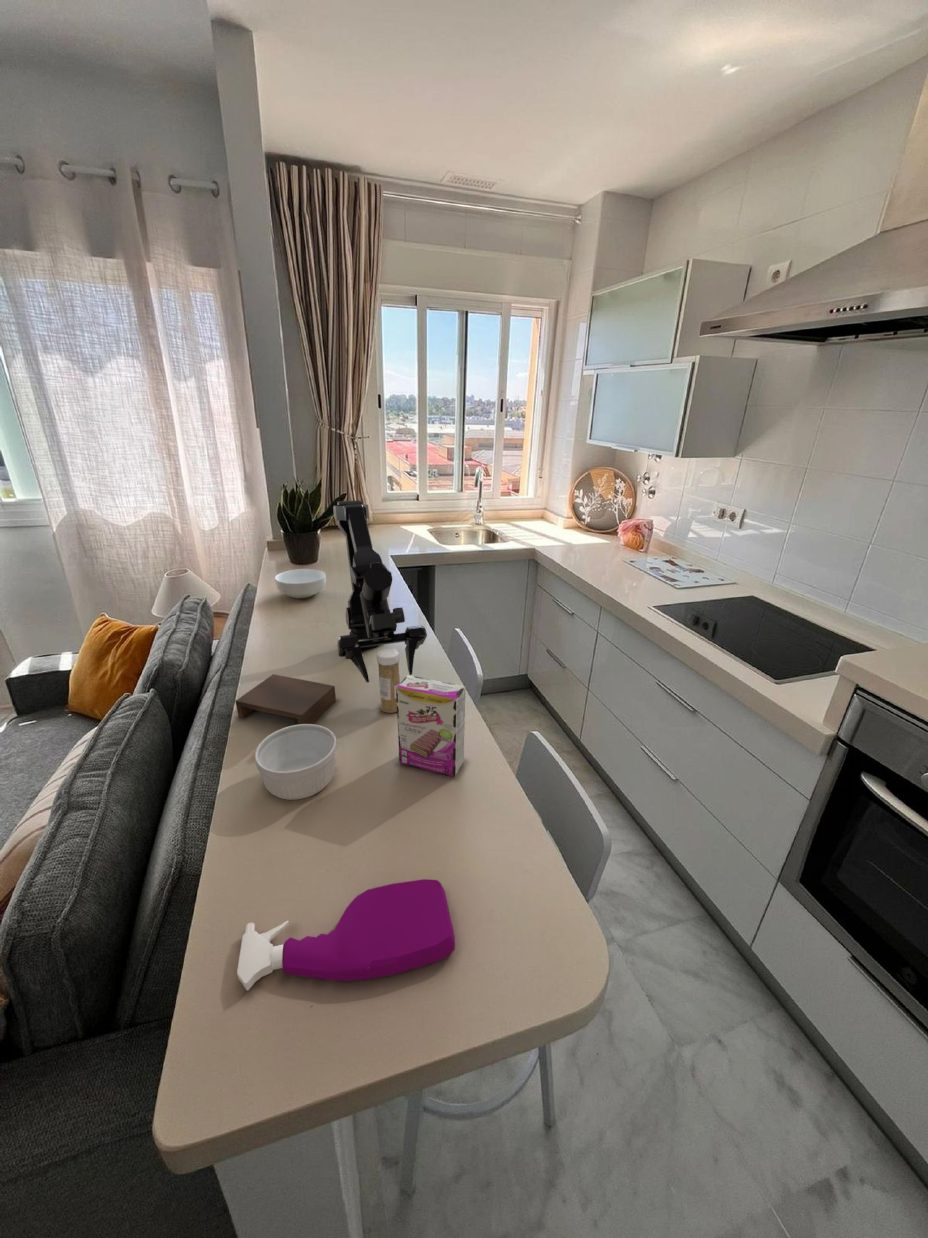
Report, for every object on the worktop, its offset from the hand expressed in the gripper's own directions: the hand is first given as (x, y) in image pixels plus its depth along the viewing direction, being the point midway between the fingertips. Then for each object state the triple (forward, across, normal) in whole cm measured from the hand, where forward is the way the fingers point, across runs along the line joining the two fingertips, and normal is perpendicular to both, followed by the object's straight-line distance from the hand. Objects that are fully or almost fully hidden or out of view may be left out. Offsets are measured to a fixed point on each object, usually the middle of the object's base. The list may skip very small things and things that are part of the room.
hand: (389, 678), depth 104 cm
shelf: (0, -21, +10) cm, 23 cm away
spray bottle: (+40, -16, -29) cm, 52 cm away
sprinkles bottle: (+5, 0, +6) cm, 8 cm away
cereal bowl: (-52, -13, +63) cm, 83 cm away
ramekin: (+17, -20, -6) cm, 27 cm away
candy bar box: (+20, +3, -9) cm, 22 cm away
